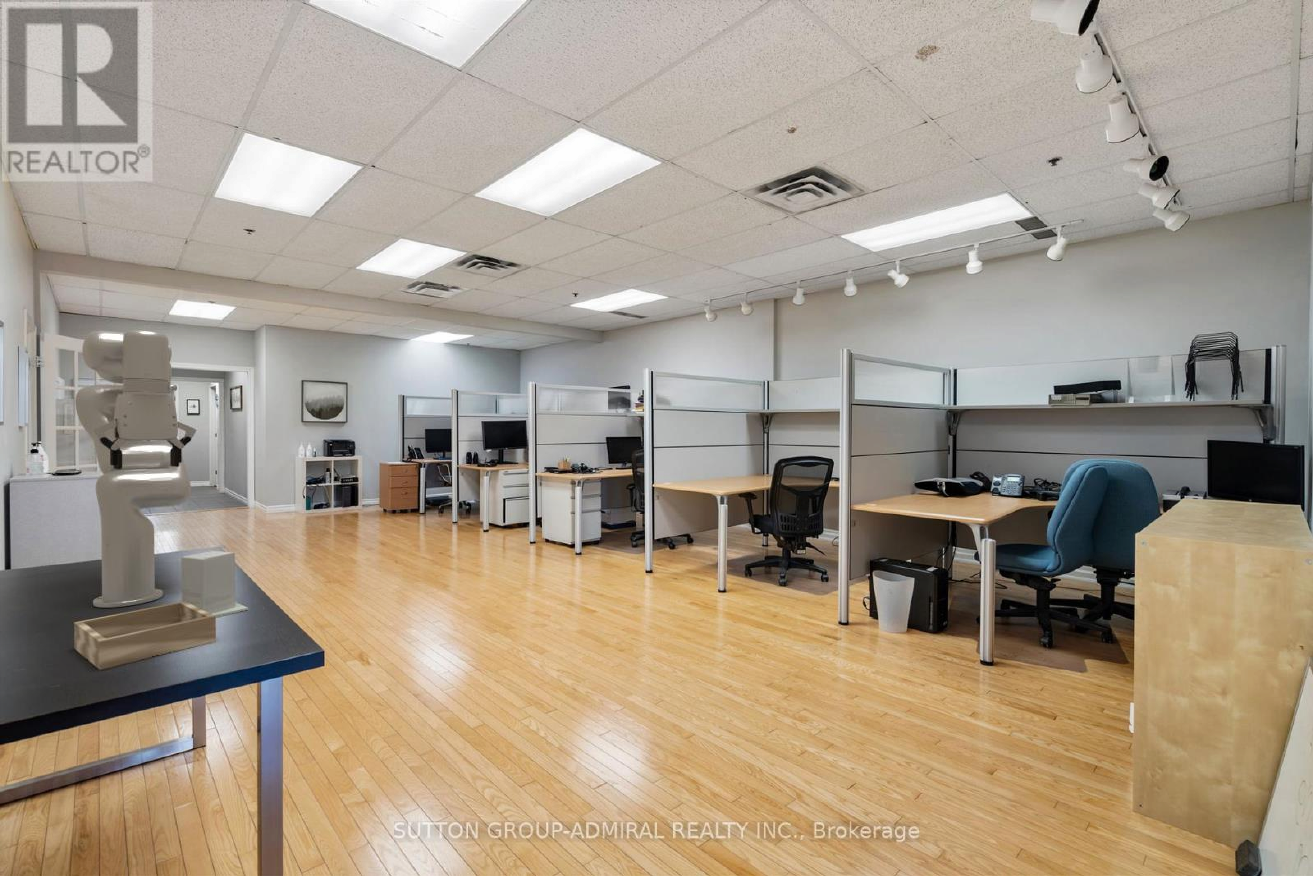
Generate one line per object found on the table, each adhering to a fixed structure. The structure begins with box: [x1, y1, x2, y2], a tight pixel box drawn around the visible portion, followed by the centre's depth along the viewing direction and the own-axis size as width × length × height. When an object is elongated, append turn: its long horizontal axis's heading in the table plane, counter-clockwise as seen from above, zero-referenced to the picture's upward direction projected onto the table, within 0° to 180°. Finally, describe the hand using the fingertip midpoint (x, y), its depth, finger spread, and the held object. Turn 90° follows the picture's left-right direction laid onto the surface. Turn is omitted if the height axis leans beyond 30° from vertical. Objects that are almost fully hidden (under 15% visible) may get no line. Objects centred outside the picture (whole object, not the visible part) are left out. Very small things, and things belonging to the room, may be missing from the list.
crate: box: [73, 600, 217, 671], centre depth 114 cm, size 17×17×5 cm
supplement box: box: [181, 550, 236, 613], centre depth 134 cm, size 7×7×13 cm
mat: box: [210, 601, 249, 618], centre depth 135 cm, size 11×11×1 cm
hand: (147, 467), depth 128 cm, fingers open, 9 cm apart
